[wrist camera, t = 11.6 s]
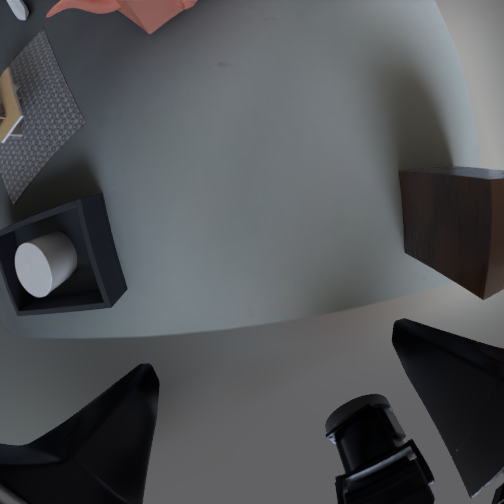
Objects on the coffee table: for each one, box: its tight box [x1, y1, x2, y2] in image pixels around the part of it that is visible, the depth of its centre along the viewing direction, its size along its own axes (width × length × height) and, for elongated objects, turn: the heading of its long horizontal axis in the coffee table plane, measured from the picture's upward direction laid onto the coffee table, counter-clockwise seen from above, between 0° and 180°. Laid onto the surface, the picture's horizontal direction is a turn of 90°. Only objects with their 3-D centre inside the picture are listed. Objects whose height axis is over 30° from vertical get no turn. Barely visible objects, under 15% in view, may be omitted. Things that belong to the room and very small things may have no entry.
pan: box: [0, 194, 127, 316], centre depth 18 cm, size 12×8×3 cm, turn 99°
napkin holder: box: [0, 67, 25, 144], centre depth 12 cm, size 3×7×7 cm, turn 31°
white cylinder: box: [15, 231, 77, 297], centre depth 17 cm, size 4×4×4 cm
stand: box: [399, 166, 504, 300], centre depth 15 cm, size 7×7×10 cm
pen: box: [7, 0, 29, 20], centre depth 9 cm, size 2×14×2 cm, turn 39°
